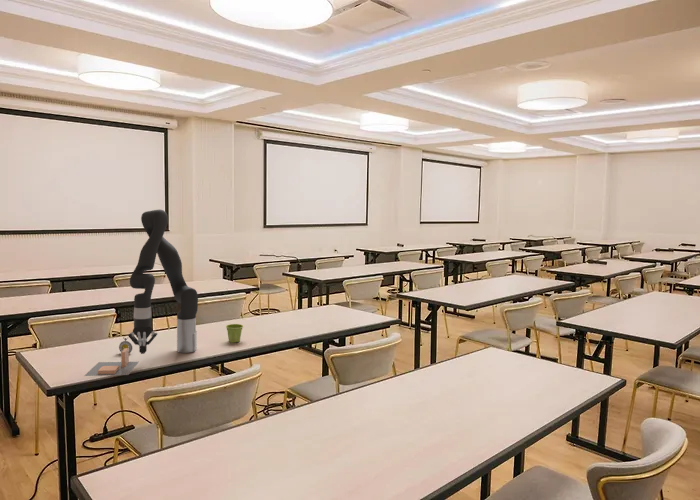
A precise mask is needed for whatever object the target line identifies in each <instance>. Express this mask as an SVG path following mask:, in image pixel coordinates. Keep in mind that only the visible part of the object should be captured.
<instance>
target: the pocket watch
mask: <svg viewBox="0 0 700 500" xmlns="http://www.w3.org/2000/svg"><path fill="white" fill-rule="evenodd" d="M122 339H124V340H123V341H121V342H120V343H119V346H118V350H119V351H120V353H121V352H122V351H123V350H124V349H125V348H129V354H130V353H131V352H132V351H133V344H132V343H131V342H130V341H127V340H128V339H129V337H128V335H127V336H126V335H124V336H123V337H122Z"/></svg>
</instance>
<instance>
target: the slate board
mask: <svg viewBox="0 0 700 500" xmlns="http://www.w3.org/2000/svg"><path fill="white" fill-rule="evenodd" d="M139 362H140V361H129V363H128V364H127V365H126V367H121V361H99V362H97V363H96V364H95V365H94V366H93V367H92V368H91V369H90V370H89V371H88V372H86V373H85V374H84V377H87V376H90V377H93V376H129V375H130V374H131V373H132V371H133V370H134V369H135V368H136V367H137V365H138V364H139ZM102 366H119V370H118V371H117V372H116V373H115V374H98V370H99V369H100V368H101V367H102Z"/></svg>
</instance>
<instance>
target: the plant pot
mask: <svg viewBox="0 0 700 500" xmlns="http://www.w3.org/2000/svg"><path fill="white" fill-rule="evenodd" d="M225 328H226V331H227V336H228V342H229V343H231V344H233V343H234V344H235V343H239V342H241V336H242V330H243V328H244V325H242V324H239V323H230V324H226V325H225Z"/></svg>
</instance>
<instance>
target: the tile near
mask: <svg viewBox="0 0 700 500" xmlns="http://www.w3.org/2000/svg"><path fill="white" fill-rule="evenodd" d="M118 370H119V366H102V367H101V368H100V369H99V370H98V374H115V373H116V372H117V371H118Z"/></svg>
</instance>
